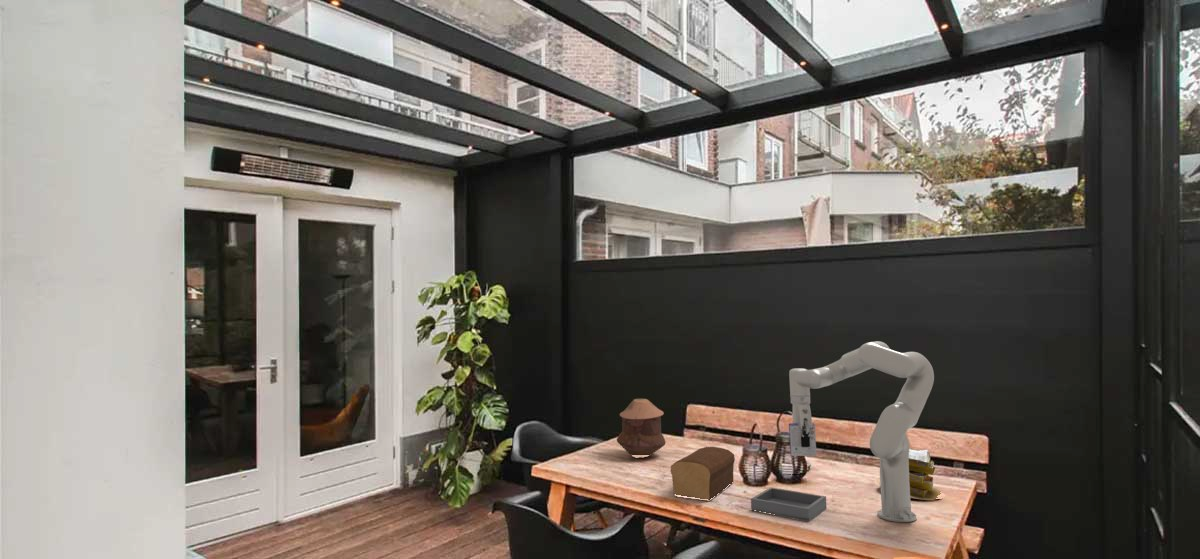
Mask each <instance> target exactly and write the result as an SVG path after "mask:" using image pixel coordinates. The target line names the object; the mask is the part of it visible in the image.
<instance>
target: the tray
mask: <svg viewBox="0 0 1200 559" xmlns="http://www.w3.org/2000/svg"><path fill="white" fill-rule="evenodd" d="M750 509H752V510H756V511H761V512H766V513H771V514H775V515H774V516H776V515H780V516H779V517H781V516H784V517H783V518H786V517H789V518H788V519H791V518H794V519H793V520H796V519H798V520H797V521H802V522H808V523H809V521H810V522H811V521H812V520H814V519H815V518H816V517H817V516H819V515H820V514H822V513H823V512H824V511H825V510H827V496H825V495H819V494H813V493H807V492H801V491H795V490H788V489H783V488H777V487H769V488H767V489H766V490H764V491H762V492H760V493H758V494H757V495H754V496H753V497H751V498H750Z"/></svg>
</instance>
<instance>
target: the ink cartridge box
mask: <svg viewBox="0 0 1200 559" xmlns="http://www.w3.org/2000/svg"><path fill="white" fill-rule="evenodd" d="M802 429H805V427H802ZM788 432H789V434H788V435H789V447H790V450H789V451H790V456H791V457H817V439H816V437H817V436H816V426H815V424H814V423H813V422H812V429H810V431H809V435H810V436H809V439H810V447H802V446H801V437H802V435H801V429H799V428H798V425H797V424H795V423H793V422H792V423H788ZM803 433H804V431H803Z"/></svg>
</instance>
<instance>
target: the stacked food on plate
mask: <svg viewBox="0 0 1200 559" xmlns="http://www.w3.org/2000/svg"><path fill="white" fill-rule="evenodd" d="M930 454H931V453H930V451H929V449H925V450H923V449H922V450H919V449H912V448H909V483H910V499H916V500H921V501H922V500H923V501H935V500H934V499H936V498H938V497H937V496H938V495H940V494H941V493H940V492H941V491H942V489H940V488H938V487H937V486H934V477H933V475H934V473H935V470H936V467H935V465H934V464H935V462H934V461H933V460H931V455H930ZM931 475H932V476H931ZM876 482H877V484H878V485H879V486H880V487H881V485H880V477H878V478H876Z"/></svg>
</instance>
